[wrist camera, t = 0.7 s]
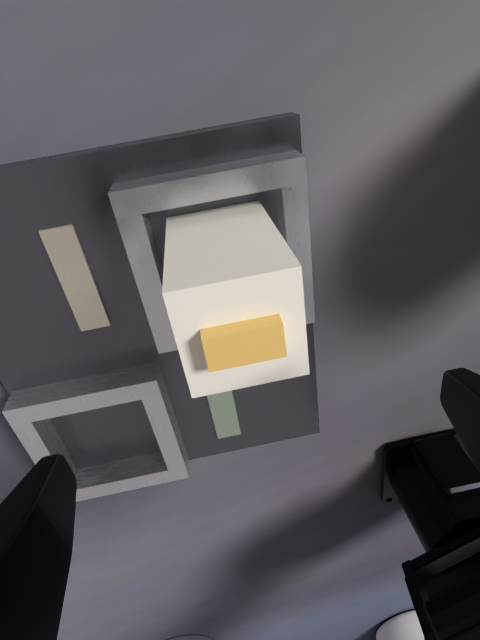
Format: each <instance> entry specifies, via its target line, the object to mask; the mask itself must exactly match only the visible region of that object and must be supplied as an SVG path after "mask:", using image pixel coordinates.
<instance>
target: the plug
mask: <svg viewBox="0 0 480 640" xmlns="http://www.w3.org/2000/svg"><path fill="white" fill-rule="evenodd" d="M162 295H163V299H164V302H165V306H166V309H167V313H168V316H169V320H170V323H171V327H172V330H173V334H174V337H175V341H176V344H177V348H178V351H179V355H180V358H181V362H182V365H183V369H184V372H185V376H186V379H187V383H188V386H189V390H190V393H191V397H192V398H197V397H202V396H207V395H212V394H216V393H221V392H226V391H231V390H236V389H241V388H246V387H250V386H255V385H260V384H265V383H270V382H275V381H280V380H284V379H289V378H294V377H299V376H304V375H309V374H310V372H309V359H308V345H307V332H306V318H305V304H304V291H303V277H302V266H301V264H300V263H299V261H298V260H297V258H296V257H295V255H294V254H293V252H292V250H291V249H290V247H289V246H288V244H287V243H286V241H285V240H284V238H283V237H282V235H281V234H280V232H279V231H278V229H277V228H276V226H275V224H274V223H273V221H272V220H271V218H270V217H269V215H268V214H267V212H266V211H265V209H264V208H263V206H262V205H261V203H260V202H259V200H258V201H253V202H247V203H242V204H237V205H232V206H226V207H221V208H216V209H210V210H205V211H200V212H195V213H189V214H184V215H179V216H173V217H168V218H166V235H165V252H164V268H163V285H162Z"/></svg>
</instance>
